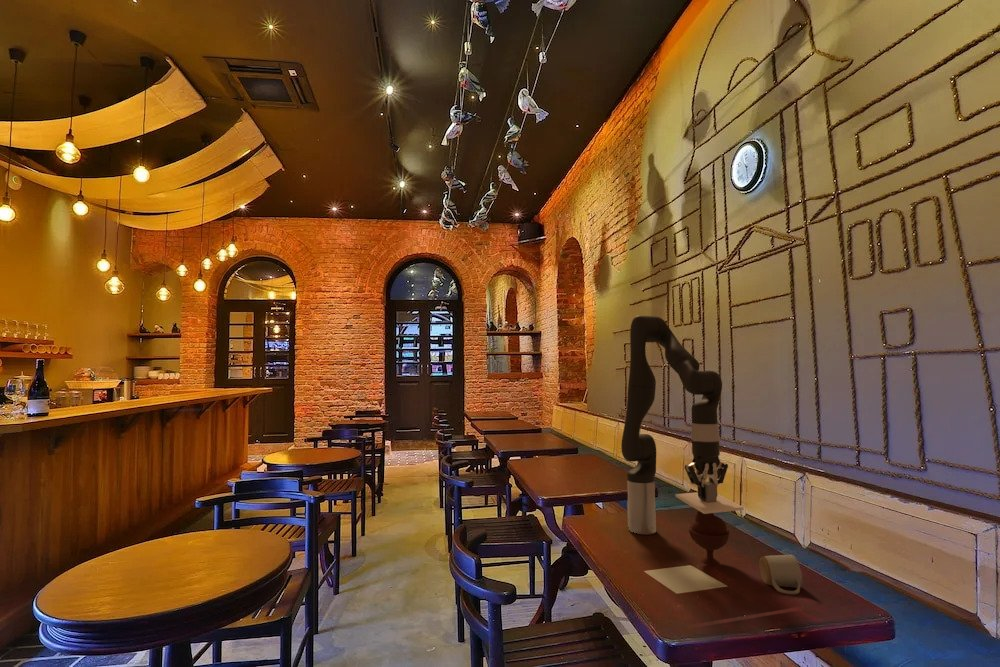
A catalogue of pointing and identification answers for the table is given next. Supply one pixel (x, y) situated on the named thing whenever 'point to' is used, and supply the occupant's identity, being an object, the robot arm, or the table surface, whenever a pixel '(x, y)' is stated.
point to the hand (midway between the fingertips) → (707, 498)
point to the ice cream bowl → (709, 534)
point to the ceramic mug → (781, 572)
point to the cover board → (709, 506)
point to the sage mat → (684, 579)
